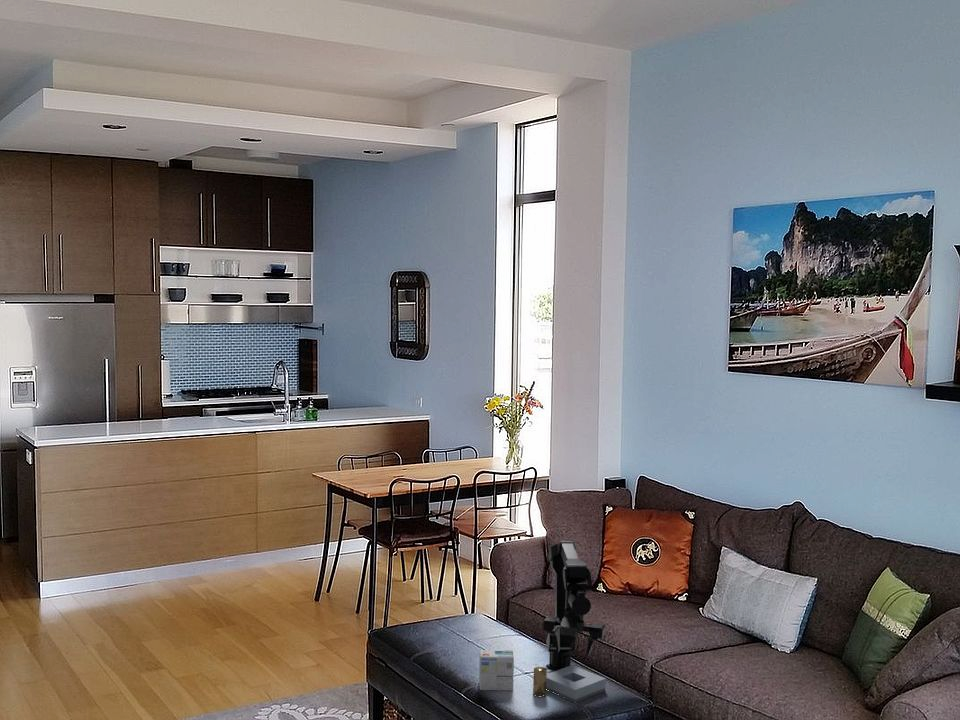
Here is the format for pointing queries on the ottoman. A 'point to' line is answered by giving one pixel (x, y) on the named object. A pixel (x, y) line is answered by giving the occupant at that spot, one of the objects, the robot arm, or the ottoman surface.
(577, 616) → the robot arm
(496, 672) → the light bulb box
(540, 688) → the peg
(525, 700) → the ottoman surface
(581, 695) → the bore block
